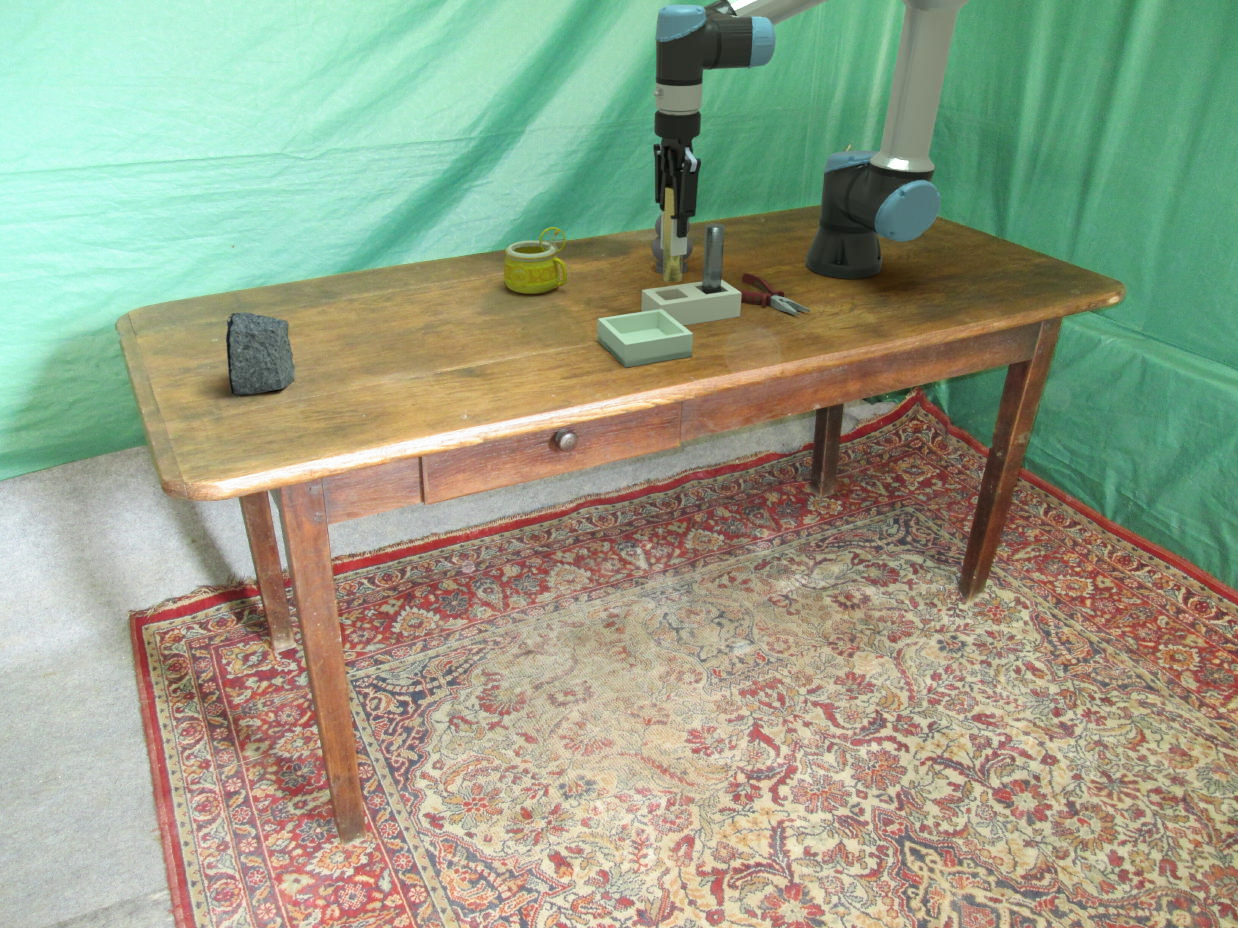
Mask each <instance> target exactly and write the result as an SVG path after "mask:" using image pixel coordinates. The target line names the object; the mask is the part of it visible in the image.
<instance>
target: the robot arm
mask: <svg viewBox="0 0 1238 928" xmlns="http://www.w3.org/2000/svg"><path fill="white" fill-rule="evenodd" d="M828 1H829V0H716V1H714V2H712V3H709V4H708V5H705V6H701V5H700V4H699V5H698V4H697V5H696V4H682V3H681V4H667V5H663V6H661V8H660V9H659V10H658V13H657V21H656V31H655V90H654V91H653V96H654V97H655V99H654V100H655V101H654V103H655V108H656V109H657V110H656V111H655V112H654V128H653V129H654V131H653V132H654V134H655V135H656V136H657V137H659V138H661V141H660V143H655V144H653V145H652V146H653V147H652V150H653V155H654V156H653V157H654V202H655V204H659V209H660V210H661V212H660V213H661V214H660V215H661V249H664V217H665V187H666V186H670V185H673V193H674V215H671V216H670V217H671V219H672V222H671V254H670V255H671V256H677V255H684V254H687V237H688V234H687V229H688V218H689V217H690V218H692V217H693V218H694V217H696V213H697V212H696V211H697V200H698V199H697V198H698V184H699V175H700V174H699V173H700V169H701V165H702V159H701V158H700V157H699V158H698V157H697V158H695V156H694V155H693V154H694V148H693V139H694V138H697V137H698V136H700V134H701V123H702V122H701V119H702V113H701V112H700V111H699V110H700V109H702V105H703V104H702V103H703V100H702V99H703V83H704V82H703V80H704V78H703V77H704V71H705V70H707V71H708V70H709V71H710V70H711V71H712V70H719V69H720V70H721V69H722V70H723V69H744V68H745V69H751V68H755V67H764V66H766V65H768V64H769V62H770V61H771V60H772V58H773V56H774V54H775V49H776V41H777V39H776V31H775V28H774V26H776V25H779V24H781V23H782V22H785V21H787V20H789V19H791V18H793V17H795V16H797V15H800V14H801V13H802V14H803V13H804V12H806V11H809V10H810V9H813V8H815V7H817V6H819V5H821V4H823V3H825V2H828ZM901 2H902V4H904V7H905V8H904V15H903V16H904V17H903V23H902V25H901V26H902V27H901V33H900V37H899V38H900V39H899V42H898V50H897V54H896V61H895V65H894V66H895V67H894V71H893V76H892V82H891V88H890V94H889V98H888V104H887V109H886V116H885V121H884V126H883V128H884V129H883V132H882V137H881V142H880V143H881V144H880V149H879V150H845V151H837V152H834V153H831V154H830V155H828V157H827V158H826V162H825V166H824V171H823V183H822V190H821V191H822V193H821V200H820V202H821V204H820V210H819V218H818V219H819V221H818V228H817V230H816V233H815V234H814V237H813V239H812V242H811V245H810V248H809V249H808V251H807V253H806V259H805V265H806V267H807V269H809V270H810V271H811V272H814V273H816V274H819V275H821V276H826V277H829V278H837V279H849V280H850V279H865V278H870V277H873V276H876V275H878V274H879V273H880V272H881V270H882V266H883V265H882V263H883V257H882V251H881V246H880V240H879V237H882V238H883V239H888V240H892V241H895V242H900V243H902V242H909V241H912V240H915V239H917V238H918V237H920V236H921V235H922V234H923V233H924V232H925V231H927V230H928V229H930V228H931V226H932V225H933V223H934V222H935V220H936V218H937V216H938V215H939V212H940V208H941V203H942V201H941V195H940V192H939V191H938V188H937V186H936V185H935V184H933V182H932V181H933V177H934V173H935V164H934V162H933V160H931V158H930V156H929V155H930V149H931V144H932V139H933V134H934V129H935V124H936V120H937V115H938V110H939V105H940V101H941V100H940V99H941V93H942V90H943V84H944V80H945V76H946V71H947V65H948V61H949V60H948V59H949V55H950V50H951V46H952V41H953V36H954V31H955V30H954V29H955V25H956V22H957V21H956V20H957V15H958V12H959V11H960V10H961V9H962V8H963V7H964V6H965V5H966V4H967V3H969V2H970V0H901Z"/></svg>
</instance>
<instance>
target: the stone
mask: <svg viewBox="0 0 1238 928" xmlns="http://www.w3.org/2000/svg"><path fill="white" fill-rule="evenodd" d="M226 323H227V324H226V326H227V329H226V330H227V331H226V334H225V343H226V353H227V354H226V358H227V368H228V370H227V372H228V379H229V386H230V391H231V394H235V395H237V396H244V395H258V394H261V393H267V392H270V391H271V392H272V391H275V390H276V391H277V390H282V389H284V388H288V387H289V386H290V385H291V384H292V382H294V380H295V368H296V367H295V364H294V361H293V357H294V356H293V355H294V354H293V352H292V346H291V342H290V341H291V340H290V338H289V327H290V324H289V322H288V320H286V319H283V318H281V319H280V318H276V317H272V316H266V315H261V314H256V313H252V312H233V313H231V314H230V315H229V316H228V318H227V319H226Z"/></svg>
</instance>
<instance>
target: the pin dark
mask: <svg viewBox="0 0 1238 928" xmlns="http://www.w3.org/2000/svg"><path fill="white" fill-rule="evenodd" d="M725 228H726V226H725V224H722V223H718V222H710V223H706V224H705V227H704V240H703V241H704V242H703V247H704V248H703V260H702V261H703V263H702V281H701V282H702V292H703V293H705V294H712V293H719V292H721V279H722V280H723V278H722V277H723V261H724V259H723V258H724V246H725Z"/></svg>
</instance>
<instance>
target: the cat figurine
mask: <svg viewBox="0 0 1238 928" xmlns="http://www.w3.org/2000/svg"><path fill="white" fill-rule="evenodd" d="M690 219H691V217H689V218H688V229H687V235H688V233H689V232H690V228H691V223H690ZM654 230H655V232H656V234H657V236H656V238H654V240H653V242H652V244H651V252H652V255H653V256H654V258H655V259H657V261H656V262H655V271H656V273H658V274H661V275H663V254H664V249H661V214H660V215H659V216H658V218H657V219H656V221H655V223H654ZM693 249H694V245H693V242H692V240H691V239H690V237H689V236H687V254H684V255H683V267H682V275H683V274H685V273H687V271H688V263H687V262H686V260H687V259H689V257H690V256H691V255H692V252H693Z"/></svg>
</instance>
